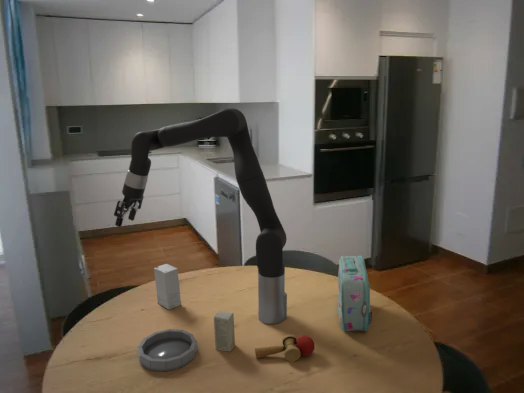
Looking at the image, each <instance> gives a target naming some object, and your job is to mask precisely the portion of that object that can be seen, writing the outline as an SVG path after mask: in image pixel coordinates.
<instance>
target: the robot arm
mask: <svg viewBox="0 0 524 393" xmlns="http://www.w3.org/2000/svg"><path fill="white" fill-rule="evenodd" d="M206 138H227V140H228V143H229V144H230V145H229V146H230V147H231V151H232V153H233V154H232V155H233V163H234V166H233V167H234V175H235V180H236V182H237V186H238V189H239V191H240V194H241V196H242V198H243V200H244V202H246V204H247V205H248V207H249V208H250V209H251V211H253V214H254V216H255V217H256V221H257V224H258V227H259V231H260V233H259V235H257V237H256V239H255V262H256V266H257V273H258V274H257V279H258V280H257V281H258V283H257V284H258V285H257V287H258V289H257V290H258V293H257V294H258V299H257V300H258V309H257V312H258V314H257V315H258V320H259V321H260V322H261V323H263V324H267V325H276V324H279V323H282V322H283V321H285V320H286V319H288V318H287V316H288V311H287V310H288V306H287V305H288V294H287V293H286V292H285V288H286V287H285V286H286V285H285V284H286V283H285V282H286V281H285V280H286V279H285V277H286V276H285V274H286V273H285V272H286V270H285V267H286V266H285V264H284V258H283V256H284V255H283V252H284V251H283V250H284V247H285V246H286V243H287V234H286V231H285V229H284V226H283V224H282V223H281V221H280V218H279V216H278V214H277V211H276V209H275V206H274V202H273V199H272V196H271V193H270V190H269V187H268V183H267V180H266V178H265V175H264V172H263V169H262V167H261V165H260V162H259V160H258V156H257V154H256V150H255V148H254V147H253V143H252V140H251V134H250V131H249V126H248V122H247V119H246V116H245V114H244V113H243V111H241V110H239V109H237V108H223V109H220V110H219V111H217V112H214V113H212V114H209V115H208V116H206V117H202V118H199V119H196V120H195V119H194V120H192V121H185V122H179V123H174V124H170V125H166V126H163V127H161V128H157V129H152V130H145V131H138V132H137V133H135V135H133V138H132V140H131V150H130V151H131V152H130V153H131V154H130V155H131V157H130V158H131V160H130V163H129V167H128V170H127V172H126V175H125V178H124V183H123V187H122V190H121V194H122V195H123V199H122V201H121V200H118V201H117V203H116V206H115V209H114V213H113V216H114V217H116V220H115V224H114V225H115V226H117V227H118V228H121V227H122V226H123V223H124V218H125V217H126V215H127V214H128V220H130V221H131V222H132V221H134V220H135V218H136V214H137V213H138V211H139V210H141V209H142V204H143V200H144V197H145V196H144V194H145V190H146V187H147V183H148V180H149V179H148V178H149V173H150V169H151V167H152V160H151V159H150V158H149V153H150V152H151V151H155V150H160V149H163V148H170V147H175V146H179V145H183V144H187V143H191V142H194V141H197V140H200V139H201V140H202V139H206Z"/></svg>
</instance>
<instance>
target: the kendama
mask: <svg viewBox="0 0 524 393" xmlns="http://www.w3.org/2000/svg"><path fill="white" fill-rule="evenodd" d="M254 351H255V352H254V353H255V358H256V359H261V358H264V357H268V356H273V355H276V354H279V353H283V352H284V353H283V355H284V358H285V360H286V361H289V362H296V361H298V360H299V359H300V358H301V357H308V356H310V355H312V354H313V353H314V351H315V342H314V339H313V338H312V337H310V336H309V335H307V334H306V335H300V336H299V337H296V336H295V335H293V334H287V335H284V336H283V338H282V345H274V346H262V347H255V348H254Z"/></svg>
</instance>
